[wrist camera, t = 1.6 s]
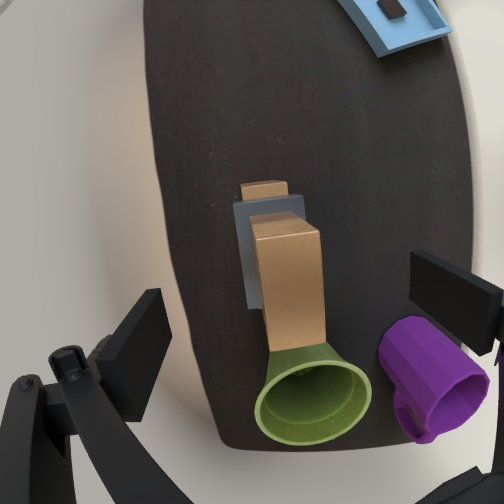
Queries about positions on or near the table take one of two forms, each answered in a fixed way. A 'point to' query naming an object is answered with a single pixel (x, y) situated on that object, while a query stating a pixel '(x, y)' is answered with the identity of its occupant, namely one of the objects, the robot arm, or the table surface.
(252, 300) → the brush
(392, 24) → the pan
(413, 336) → the mug
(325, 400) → the plant pot
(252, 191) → the square wooden block
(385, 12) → the dark grey flat block
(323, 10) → the table surface
